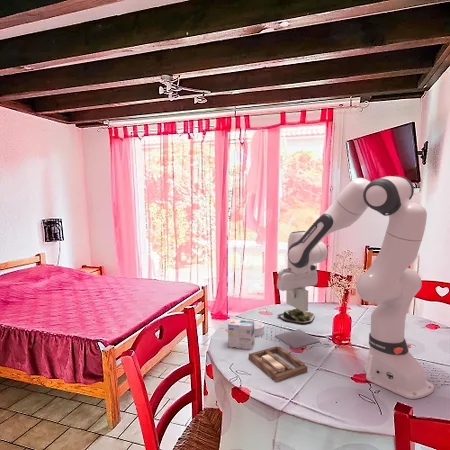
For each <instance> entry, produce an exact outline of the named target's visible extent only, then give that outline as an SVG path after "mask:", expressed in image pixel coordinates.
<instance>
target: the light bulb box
mask: <svg viewBox="0 0 450 450" xmlns="http://www.w3.org/2000/svg"><path fill="white" fill-rule="evenodd" d="M254 321H255V320H251V319H237V318H231V319H230V320H229V322H228V323H227V338H228V339H227V340H228V341H227V343H228V346H229V347H228V346H227V347H228V348H232V347H236V348H235V349H241V348H242V349H243V350H249V351H250V350H252V349H253V348H254V346H255V345H256V344H255V341H256V340H255V337H256V336H255V335H254ZM242 349H241V350H242Z"/></svg>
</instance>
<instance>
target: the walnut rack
mask: <svg viewBox="0 0 450 450" xmlns="http://www.w3.org/2000/svg"><path fill="white" fill-rule="evenodd" d="M267 354H268V355H270V356H271V357H272V358H274V359H275V360H276V361H278V362H279V363H280V364H282V365H283V366H284V367H285V370H284V371H283V372H281V373H278V372H276V371H275V370H274V369H273V368H271V367H270V366H269V365H268V364H266V363H265V362H264V361H263V360H262V356H264V355H267ZM275 354H277V355H278V356H280V357H281V358H283V359H284V360H285V361H287V362H289V363H290V364H291V365H293V366H294V367H295V368H293V367H291V366H290V365H289V364H288V363H286V362H285V361H283V360H282V359H280V357H278V356H277V355H275ZM248 360H249V361H251V362H254V365H255V366H257V367H258V368H260V370H261V371H262V372H264V373H265V374H266V375H267V374H268V376H269V378H271V379H272V380H273V381H275V382H276V383H278V382H281V381H284V380H287V379H290V378H294V377H296V376H299V375H302V374H303V375H304V374H305V373H308V366H307V365H305V364H306V363H305V362H303V361H302V360H300V359H299V358H297V357H296V356H294V355H293V354H291V353H290V352H288V351H287V350H286V349H285V348H283V347H281V346H277V345H276V346H272V347H270V348H269V347H268V348H265V349H262V350H258V351H254V352H251V353H248Z"/></svg>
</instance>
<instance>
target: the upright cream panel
mask: <svg viewBox="0 0 450 450" xmlns="http://www.w3.org/2000/svg"><path fill="white" fill-rule="evenodd" d="M293 292H294V294H296V298H291V293H290V291H289V290H286V296H285V297H286V302H285V303H286V304H287V305H289V306H291V307H293V308H294V309H296V308H297V309H299V310H301V311H303V312H309V290H307V289H306V288H305V289H303V288H296V289H294V291H293Z"/></svg>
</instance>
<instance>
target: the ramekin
mask: <svg viewBox="0 0 450 450" xmlns="http://www.w3.org/2000/svg"><path fill="white" fill-rule="evenodd" d="M264 329H265V324H264V322H262V321H259V320H254V335H255V337H260V336H263V334H264V332H265V331H264Z"/></svg>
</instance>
